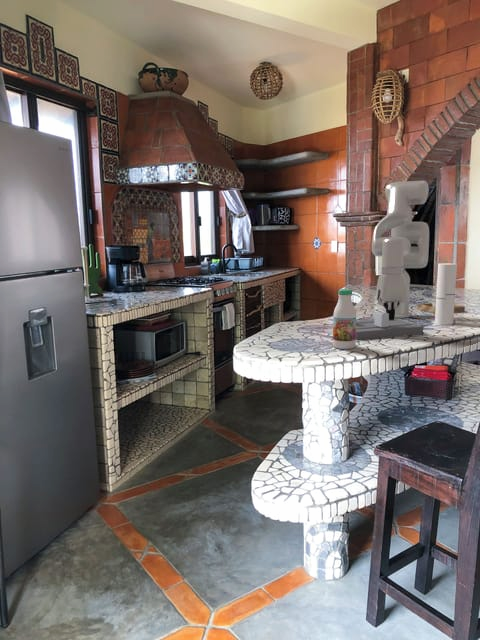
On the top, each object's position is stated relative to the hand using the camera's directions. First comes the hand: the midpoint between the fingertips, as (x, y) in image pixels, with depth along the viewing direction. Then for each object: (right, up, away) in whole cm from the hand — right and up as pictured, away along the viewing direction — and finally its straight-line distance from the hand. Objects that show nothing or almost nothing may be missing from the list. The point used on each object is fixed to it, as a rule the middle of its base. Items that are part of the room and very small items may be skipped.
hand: (390, 319), depth 178 cm
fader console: (-4, -5, +5) cm, 8 cm away
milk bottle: (-21, -10, -17) cm, 29 cm away
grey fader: (-4, -2, -1) cm, 4 cm away
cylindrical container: (+29, -2, +19) cm, 35 cm away
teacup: (+39, +4, +48) cm, 62 cm away
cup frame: (+41, +4, +49) cm, 64 cm away
